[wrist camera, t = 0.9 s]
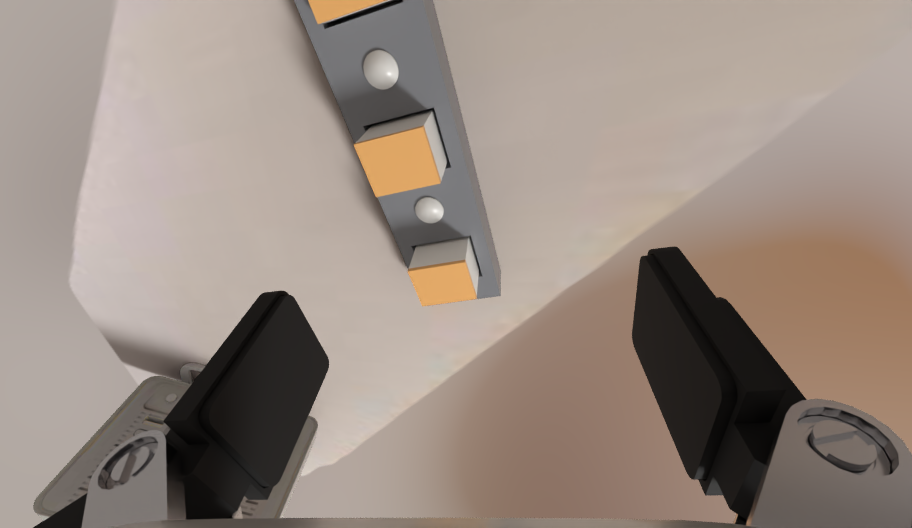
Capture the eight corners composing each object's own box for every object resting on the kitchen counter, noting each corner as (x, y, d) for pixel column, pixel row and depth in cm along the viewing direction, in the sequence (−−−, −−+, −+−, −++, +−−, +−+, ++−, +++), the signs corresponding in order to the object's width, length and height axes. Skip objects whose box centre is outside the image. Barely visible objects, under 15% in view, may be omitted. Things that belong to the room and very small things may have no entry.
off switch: (469, 233, 34) (465, 262, 30) (479, 267, 36) (476, 298, 32) (417, 242, 35) (407, 271, 31) (430, 275, 37) (422, 306, 34)
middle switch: (433, 109, 28) (422, 127, 24) (447, 160, 30) (440, 183, 26) (372, 125, 29) (353, 144, 25) (390, 173, 31) (375, 197, 28)
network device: (165, 385, 60) (42, 529, 44) (156, 352, 55) (14, 501, 39) (321, 426, 63) (259, 576, 47) (327, 399, 58) (260, 556, 42)
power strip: (394, -152, 22) (375, -178, 19) (500, 270, 40) (500, 297, 36) (280, -101, 24) (243, -115, 21) (429, 281, 42) (423, 307, 38)
